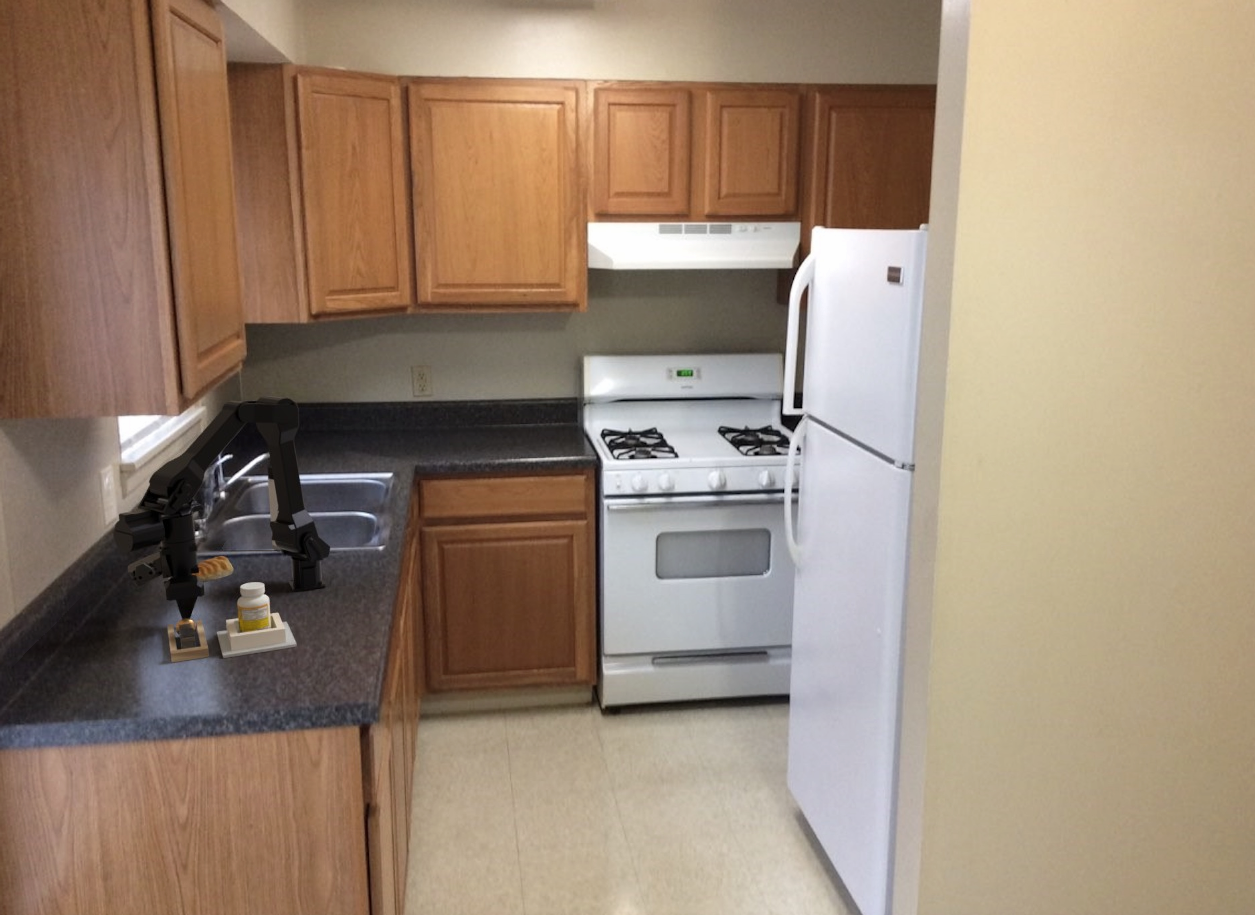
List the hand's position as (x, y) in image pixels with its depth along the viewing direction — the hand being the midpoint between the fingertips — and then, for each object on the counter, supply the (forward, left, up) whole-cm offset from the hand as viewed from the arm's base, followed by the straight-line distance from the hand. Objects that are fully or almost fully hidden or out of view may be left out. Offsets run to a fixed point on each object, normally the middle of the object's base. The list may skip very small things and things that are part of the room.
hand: (185, 620), depth 188 cm
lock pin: (+9, 0, -1) cm, 9 cm away
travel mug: (-44, +24, -1) cm, 50 cm away
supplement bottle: (+12, +11, -1) cm, 16 cm away
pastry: (-29, +6, -2) cm, 30 cm away
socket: (+13, +11, -1) cm, 17 cm away
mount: (+9, 0, -1) cm, 9 cm away
